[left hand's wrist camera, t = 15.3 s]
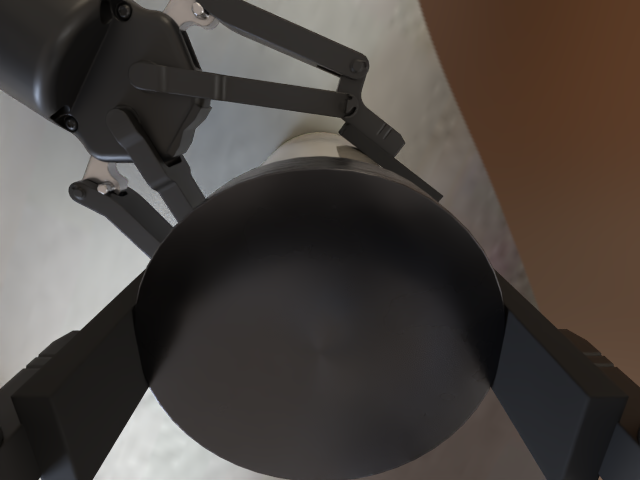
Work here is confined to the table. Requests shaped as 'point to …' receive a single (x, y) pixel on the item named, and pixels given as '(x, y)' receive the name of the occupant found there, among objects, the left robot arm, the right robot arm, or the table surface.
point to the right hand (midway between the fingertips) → (377, 259)
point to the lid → (319, 321)
